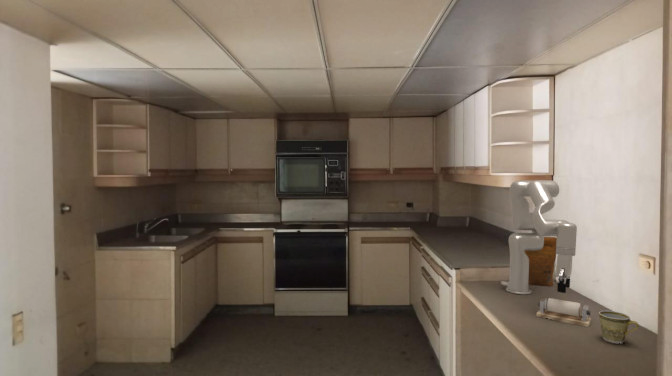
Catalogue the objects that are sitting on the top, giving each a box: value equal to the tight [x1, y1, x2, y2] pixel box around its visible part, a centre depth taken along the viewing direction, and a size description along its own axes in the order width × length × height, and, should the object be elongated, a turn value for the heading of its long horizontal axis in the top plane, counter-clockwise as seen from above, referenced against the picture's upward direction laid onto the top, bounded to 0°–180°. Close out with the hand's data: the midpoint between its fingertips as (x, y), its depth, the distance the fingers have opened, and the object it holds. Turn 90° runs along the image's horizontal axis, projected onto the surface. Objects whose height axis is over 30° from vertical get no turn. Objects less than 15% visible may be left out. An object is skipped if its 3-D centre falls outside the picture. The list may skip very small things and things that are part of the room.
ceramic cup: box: [598, 310, 640, 345], centre depth 162 cm, size 13×10×10 cm
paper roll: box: [546, 297, 581, 317], centre depth 187 cm, size 12×6×6 cm, turn 53°
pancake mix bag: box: [525, 236, 557, 287], centre depth 244 cm, size 7×19×28 cm, turn 72°
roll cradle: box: [535, 297, 592, 328], centre depth 187 cm, size 20×9×7 cm, turn 53°
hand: (563, 289), depth 187 cm, fingers open, 9 cm apart
